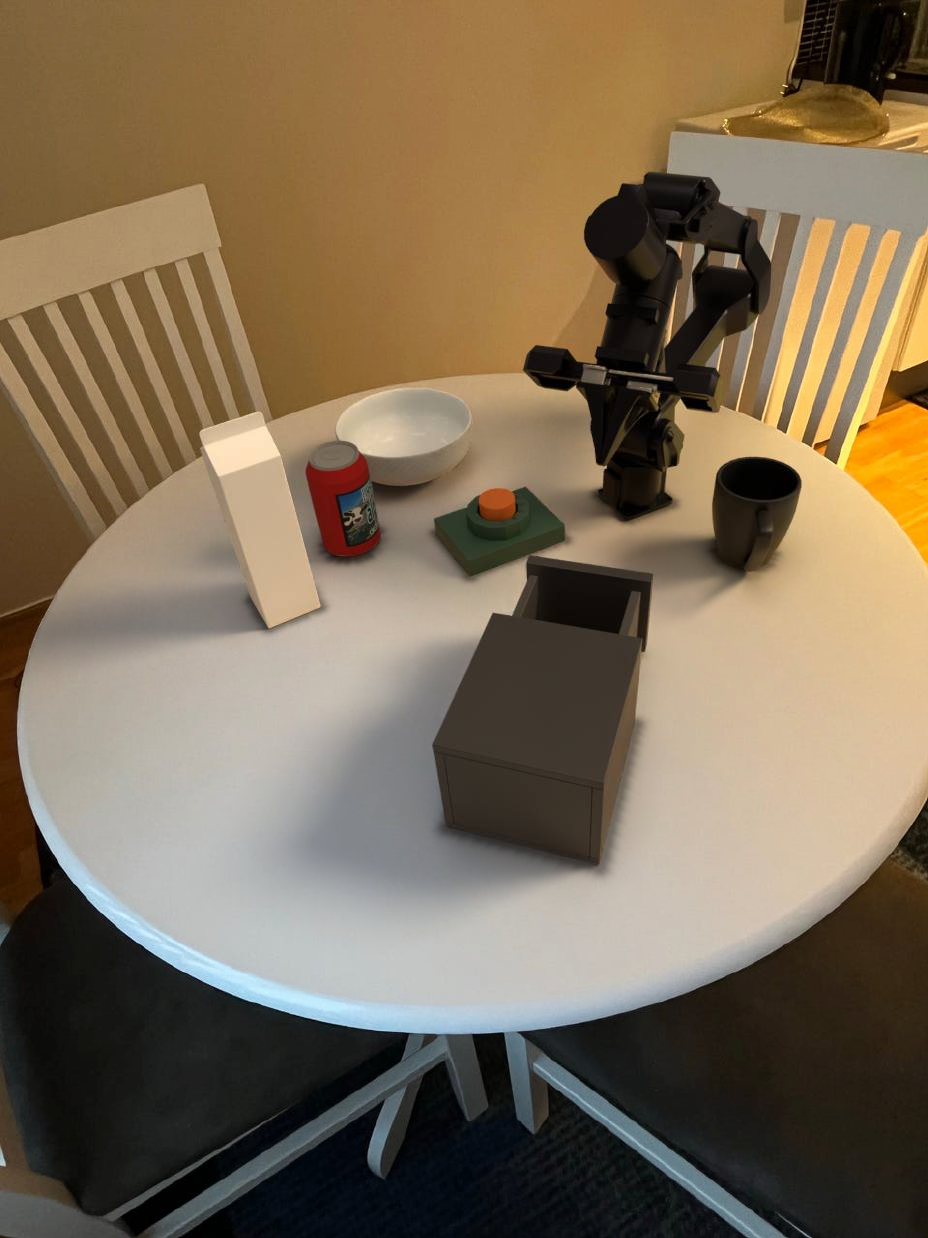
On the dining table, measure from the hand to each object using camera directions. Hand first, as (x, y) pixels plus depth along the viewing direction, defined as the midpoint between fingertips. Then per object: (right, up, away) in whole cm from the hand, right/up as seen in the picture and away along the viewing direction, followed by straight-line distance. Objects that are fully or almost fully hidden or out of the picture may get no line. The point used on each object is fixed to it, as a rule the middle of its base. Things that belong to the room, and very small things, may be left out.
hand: (600, 465), depth 81 cm
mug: (+16, -9, +7) cm, 20 cm away
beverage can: (-26, -6, +15) cm, 31 cm away
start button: (-10, -3, +11) cm, 15 cm away
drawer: (-3, -20, -3) cm, 20 cm away
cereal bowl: (-20, +4, +26) cm, 33 cm away
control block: (-9, -6, +14) cm, 18 cm away
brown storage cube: (-7, -28, -11) cm, 31 cm away
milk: (-33, -13, +8) cm, 36 cm away
